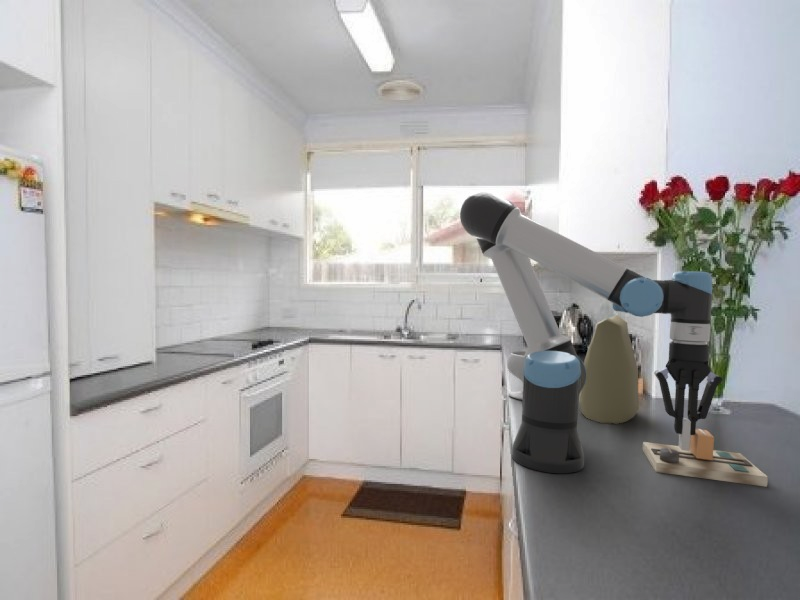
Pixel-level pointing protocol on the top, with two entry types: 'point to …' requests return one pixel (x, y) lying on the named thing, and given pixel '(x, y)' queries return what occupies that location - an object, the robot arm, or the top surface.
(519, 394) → the chalice
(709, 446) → the fader knob
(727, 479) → the console
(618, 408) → the container
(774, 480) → the top surface
